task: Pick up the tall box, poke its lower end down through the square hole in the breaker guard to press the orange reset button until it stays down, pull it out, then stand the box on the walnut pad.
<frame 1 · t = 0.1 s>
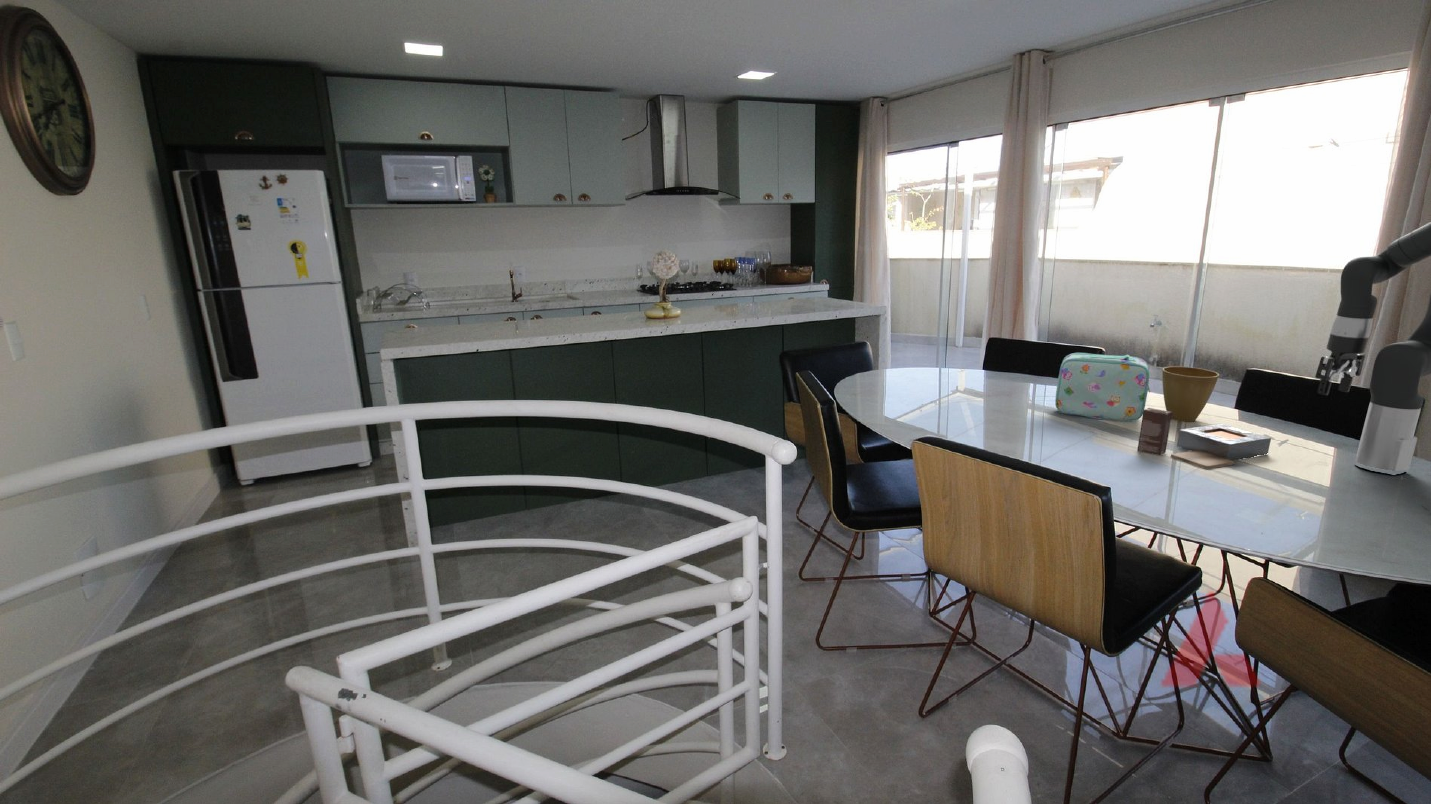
hand: (1333, 392, 181), 17 cm above the table, tool pointing down, fingers open, 8 cm apart
breaker guard: (1221, 450, 188), on the table
box: (1151, 452, 188), on the table
reset button: (1223, 437, 187), point 4 cm above the table, slide at 0.0 cm
lunch box: (1098, 416, 222), on the table
plant pot: (1181, 419, 218), on the table
walnut pad: (1201, 460, 180), on the table
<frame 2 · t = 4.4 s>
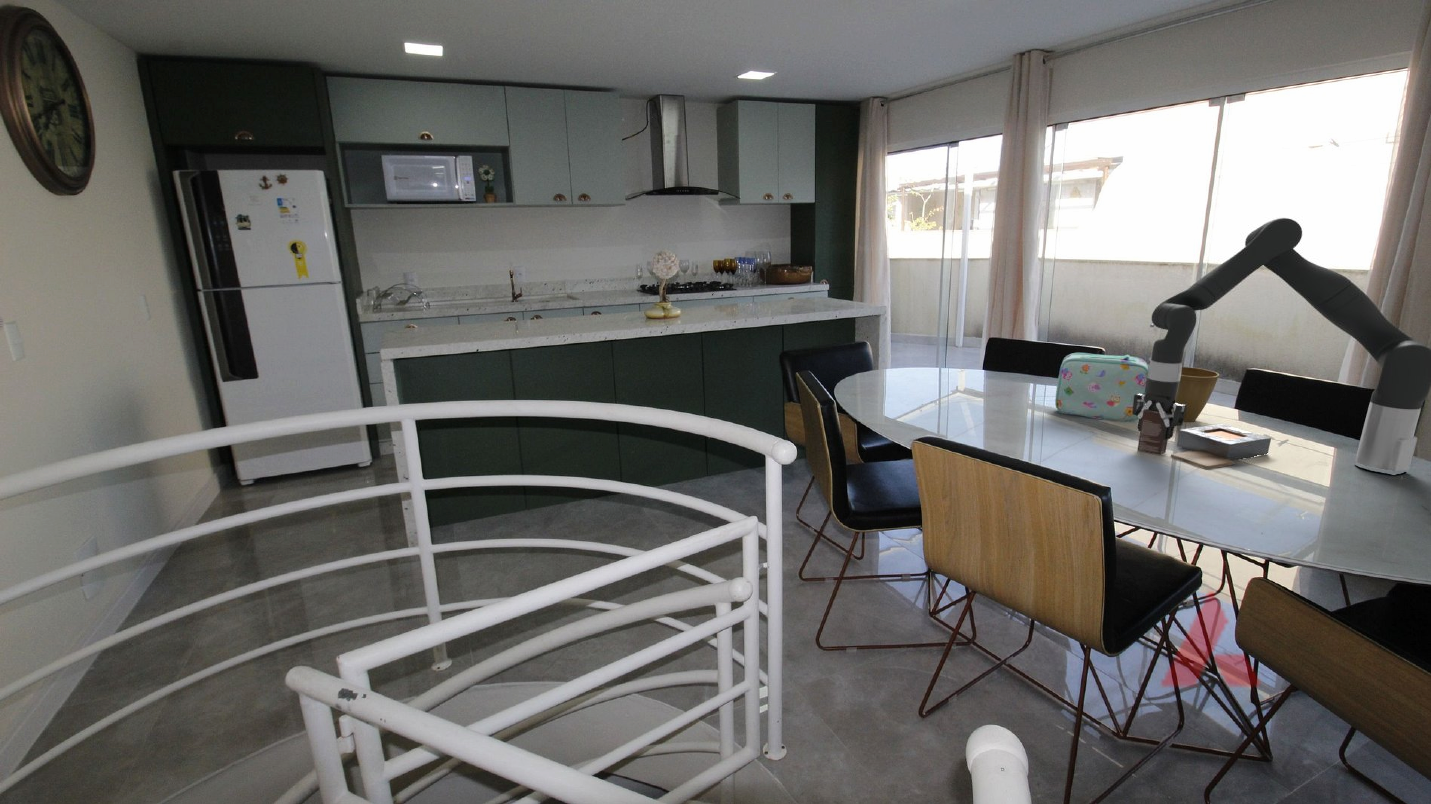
hand: (1153, 435, 186), 5 cm above the table, tool pointing down, fingers closed on box, 7 cm apart
box: (1151, 452, 188), on the table, touching gripper
everything else where it was.
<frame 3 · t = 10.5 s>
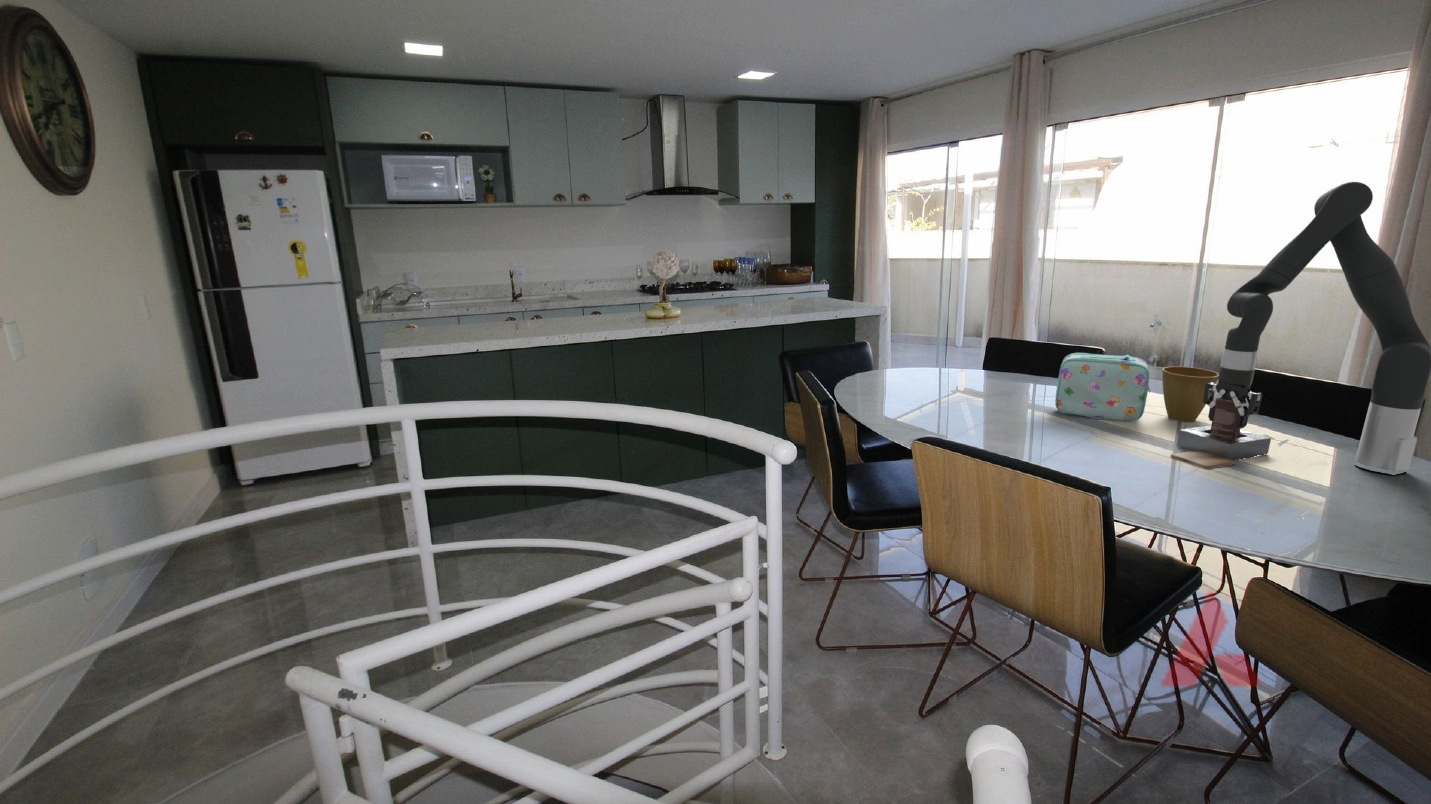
hand: (1226, 424, 186), 8 cm above the table, tool pointing down, fingers closed on box, 7 cm apart
box: (1222, 441, 187), point 3 cm above the table, touching gripper, reset button
reset button: (1222, 443, 187), point 2 cm above the table, slide at 1.7 cm, touching box
everything else where it was.
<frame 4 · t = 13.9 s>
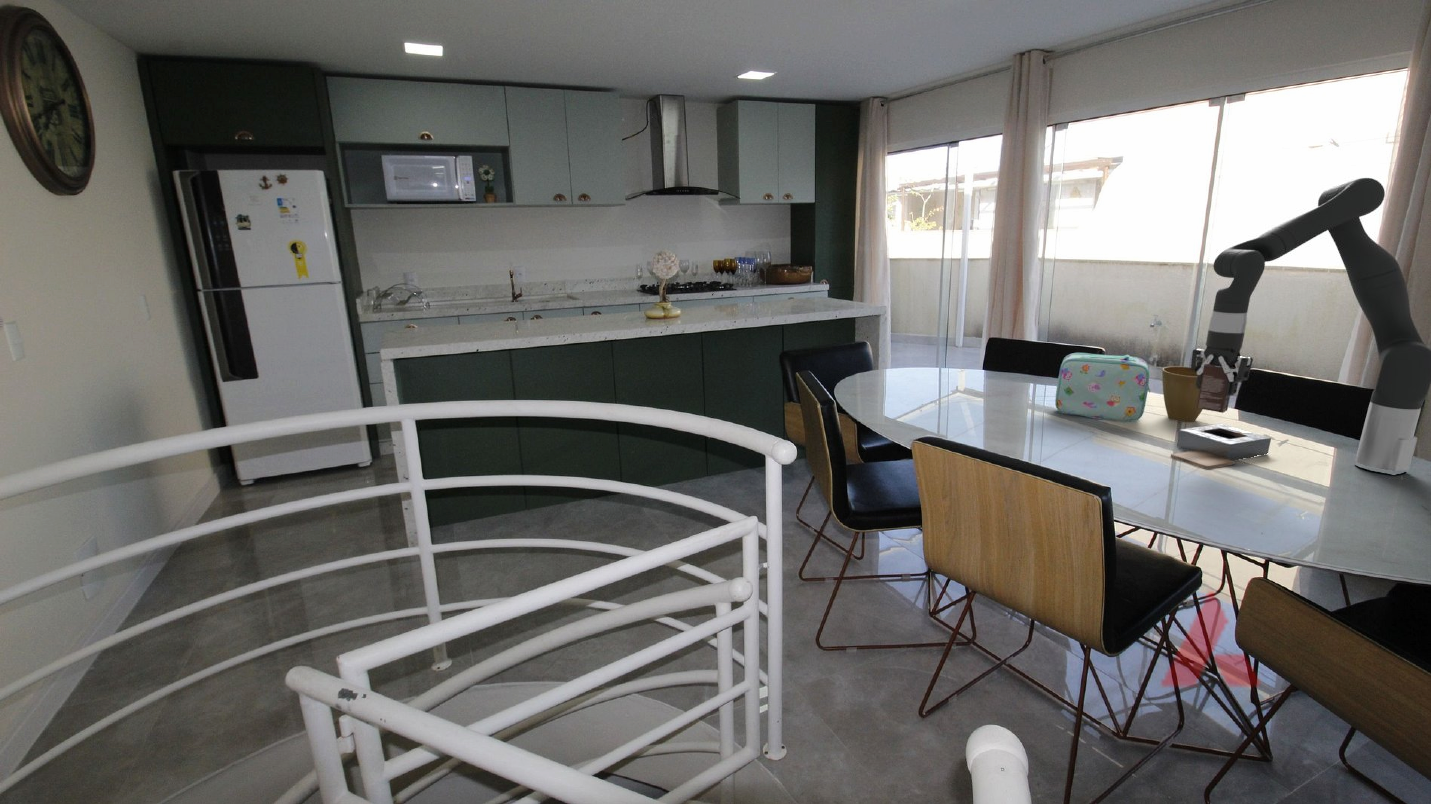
hand: (1214, 391, 175), 19 cm above the table, tool pointing down, fingers closed on box, 7 cm apart
box: (1211, 410, 177), point 14 cm above the table, touching gripper
reset button: (1222, 444, 187), point 2 cm above the table, slide at 1.8 cm
everything else where it was.
when the fingers open (7 cm above the table, at t = 16.7 s): box drops 1 cm, resting on walnut pad.
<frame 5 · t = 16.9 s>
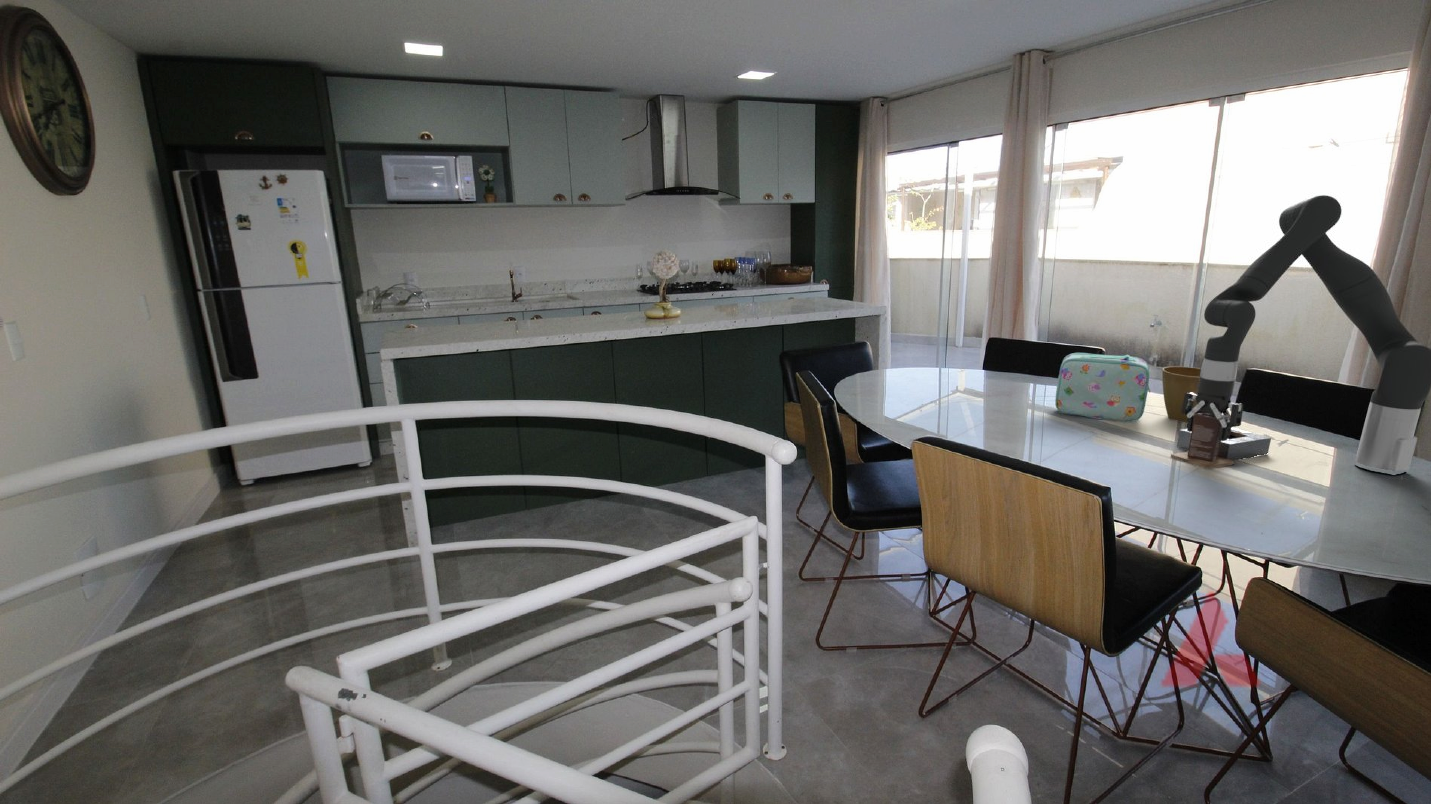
hand: (1206, 435, 179), 7 cm above the table, tool pointing down, fingers open, 8 cm apart
box: (1201, 458, 180), point 1 cm above the table, touching walnut pad
everything else where it was.
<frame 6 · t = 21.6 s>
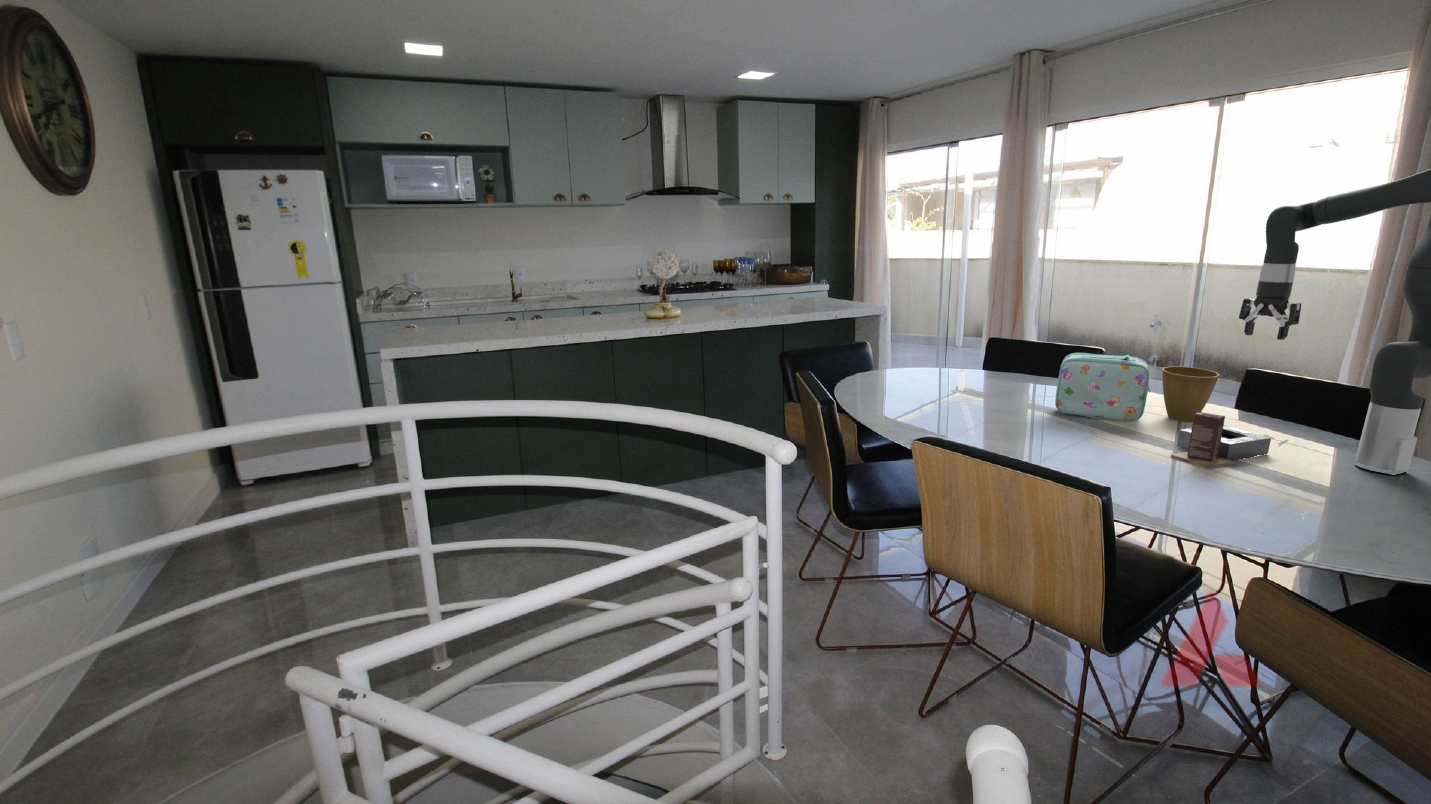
hand: (1264, 337, 191), 30 cm above the table, tool pointing down, fingers open, 8 cm apart
nothing on the table moved.
at the end: reset button slide at 1.8 cm; box inside the target area on the walnut pad (0.2 cm from its centre), point 0.6 cm above the walnut pad's base; box tilted 0° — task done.
